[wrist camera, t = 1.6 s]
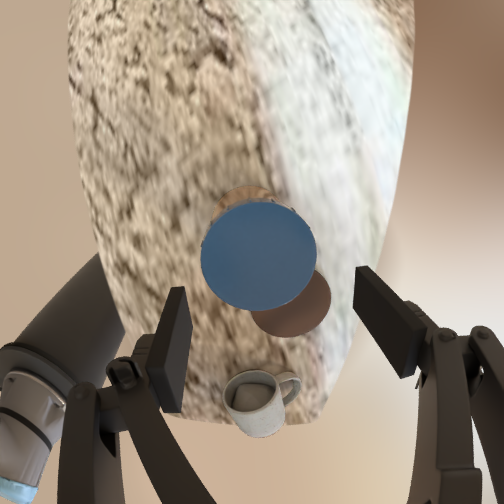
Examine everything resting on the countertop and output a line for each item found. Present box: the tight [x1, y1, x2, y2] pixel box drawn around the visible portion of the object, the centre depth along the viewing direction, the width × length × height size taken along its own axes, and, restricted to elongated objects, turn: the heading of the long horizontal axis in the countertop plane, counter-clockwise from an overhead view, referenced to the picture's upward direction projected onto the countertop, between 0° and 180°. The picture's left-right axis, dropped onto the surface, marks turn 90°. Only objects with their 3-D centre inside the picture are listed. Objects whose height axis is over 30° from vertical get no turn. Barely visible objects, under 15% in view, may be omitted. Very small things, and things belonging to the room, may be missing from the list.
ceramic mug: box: [222, 370, 302, 438], centre depth 38 cm, size 11×8×8 cm
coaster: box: [251, 270, 331, 338], centre depth 36 cm, size 10×10×1 cm
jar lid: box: [201, 197, 317, 311], centre depth 23 cm, size 9×9×2 cm
